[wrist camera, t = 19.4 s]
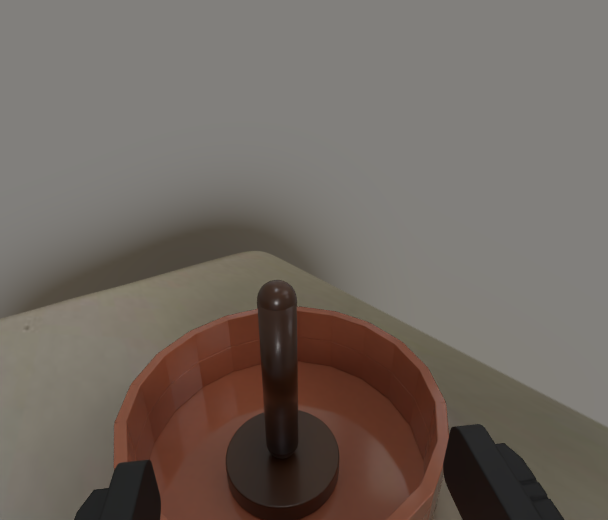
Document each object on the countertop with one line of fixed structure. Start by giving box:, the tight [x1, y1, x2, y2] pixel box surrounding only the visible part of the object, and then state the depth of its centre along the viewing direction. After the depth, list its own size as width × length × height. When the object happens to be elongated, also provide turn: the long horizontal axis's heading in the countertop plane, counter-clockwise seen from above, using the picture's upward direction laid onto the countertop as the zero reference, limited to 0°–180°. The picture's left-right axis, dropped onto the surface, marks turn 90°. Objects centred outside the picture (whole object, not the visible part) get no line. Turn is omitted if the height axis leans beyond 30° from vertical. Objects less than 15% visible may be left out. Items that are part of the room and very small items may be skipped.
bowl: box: [114, 306, 449, 520], centre depth 23 cm, size 17×17×6 cm
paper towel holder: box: [226, 280, 339, 520], centre depth 21 cm, size 6×6×12 cm
